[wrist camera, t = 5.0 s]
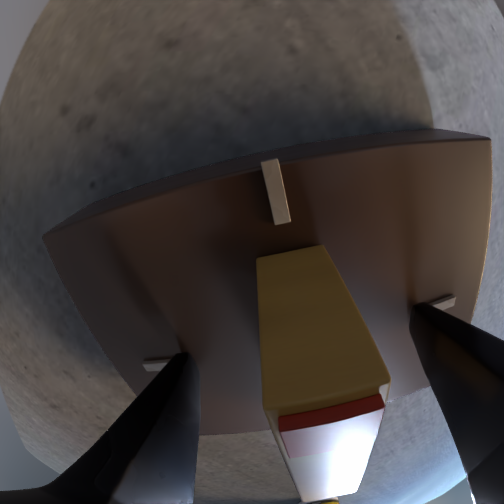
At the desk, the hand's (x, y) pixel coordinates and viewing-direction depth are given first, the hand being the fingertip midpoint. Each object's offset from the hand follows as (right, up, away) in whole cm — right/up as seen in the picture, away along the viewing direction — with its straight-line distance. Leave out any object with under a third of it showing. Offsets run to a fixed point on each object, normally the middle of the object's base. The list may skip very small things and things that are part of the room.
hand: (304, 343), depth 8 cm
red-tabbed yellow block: (0, 0, 0) cm, 0 cm away
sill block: (0, +1, +3) cm, 3 cm away
